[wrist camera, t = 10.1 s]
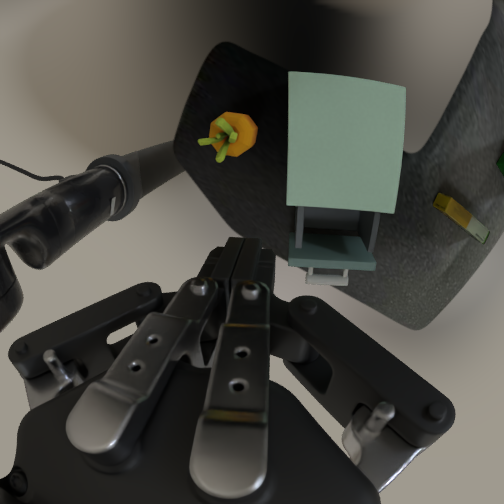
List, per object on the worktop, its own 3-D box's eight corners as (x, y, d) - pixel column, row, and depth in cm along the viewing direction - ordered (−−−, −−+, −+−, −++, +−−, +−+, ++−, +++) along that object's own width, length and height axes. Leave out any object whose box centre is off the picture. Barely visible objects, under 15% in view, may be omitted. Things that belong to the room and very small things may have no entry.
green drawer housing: (372, 190, 36) (394, 213, 28) (287, 184, 38) (286, 205, 30) (379, 92, 30) (406, 87, 21) (288, 82, 31) (288, 71, 23)
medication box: (478, 224, 35) (491, 232, 32) (471, 237, 36) (484, 246, 33) (438, 191, 34) (452, 197, 31) (431, 205, 35) (444, 213, 32)
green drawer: (357, 268, 42) (367, 297, 35) (287, 264, 43) (286, 294, 36) (374, 156, 33) (393, 166, 26) (292, 148, 35) (293, 156, 28)
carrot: (252, 153, 36) (229, 176, 23) (222, 135, 36) (182, 148, 23) (271, 124, 34) (259, 129, 21) (240, 105, 33) (210, 100, 20)
